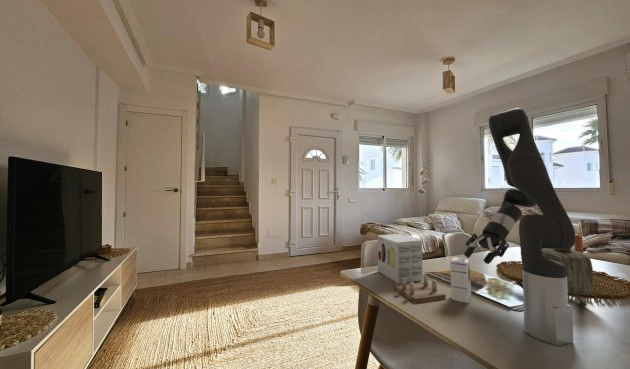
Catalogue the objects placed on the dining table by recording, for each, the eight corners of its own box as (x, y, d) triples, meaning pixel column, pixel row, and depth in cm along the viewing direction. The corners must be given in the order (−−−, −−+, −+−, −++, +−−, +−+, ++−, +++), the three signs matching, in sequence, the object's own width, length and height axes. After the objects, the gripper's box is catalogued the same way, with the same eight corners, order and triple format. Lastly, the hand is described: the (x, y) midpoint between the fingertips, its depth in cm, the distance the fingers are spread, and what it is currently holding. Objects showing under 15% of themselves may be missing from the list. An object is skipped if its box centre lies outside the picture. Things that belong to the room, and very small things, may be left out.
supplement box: (376, 271, 125) (376, 235, 125) (399, 269, 129) (399, 233, 129) (398, 284, 108) (397, 242, 109) (423, 280, 112) (423, 239, 113)
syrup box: (469, 303, 89) (468, 262, 90) (450, 299, 93) (450, 260, 93) (471, 298, 94) (470, 259, 94) (453, 294, 97) (452, 256, 98)
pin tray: (445, 298, 94) (445, 283, 94) (415, 303, 90) (414, 287, 90) (422, 285, 106) (422, 272, 106) (395, 289, 103) (394, 275, 103)
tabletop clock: (594, 309, 84) (592, 234, 85) (562, 307, 86) (560, 233, 87) (561, 292, 99) (559, 228, 99) (534, 290, 100) (533, 227, 101)
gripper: (477, 218, 105) (454, 248, 102) (511, 223, 91) (486, 257, 88) (487, 231, 106) (465, 260, 103) (523, 237, 92) (499, 271, 89)
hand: (475, 259), depth 95 cm, fingers open, 8 cm apart
